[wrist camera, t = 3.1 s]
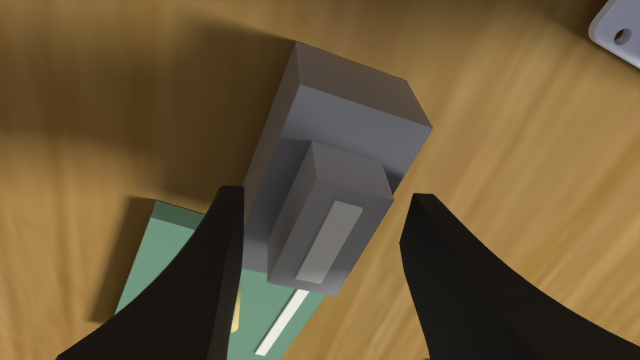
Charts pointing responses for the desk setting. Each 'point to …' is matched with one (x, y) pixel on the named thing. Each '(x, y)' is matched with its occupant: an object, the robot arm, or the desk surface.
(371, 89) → the plug housing
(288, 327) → the header board
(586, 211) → the desk surface
